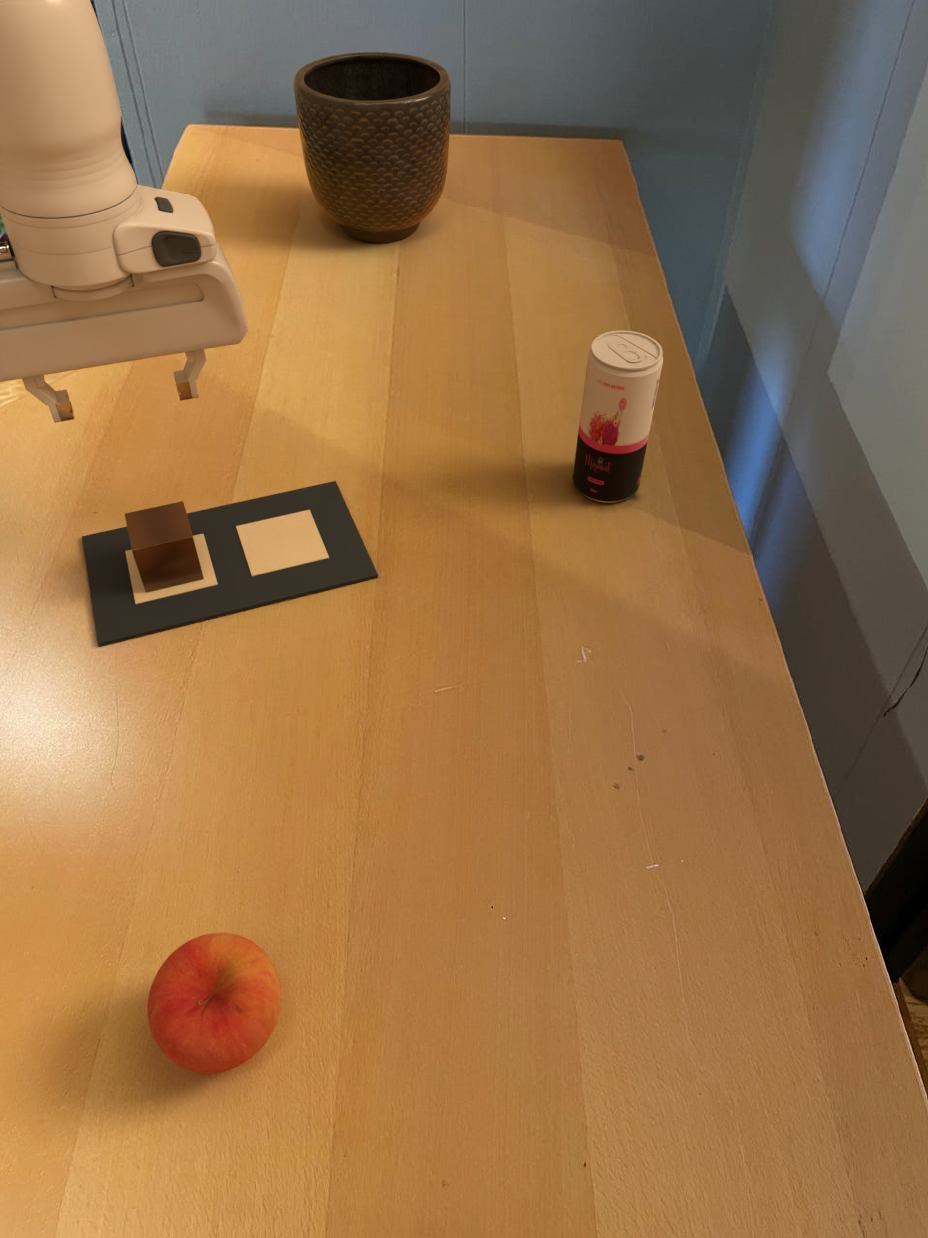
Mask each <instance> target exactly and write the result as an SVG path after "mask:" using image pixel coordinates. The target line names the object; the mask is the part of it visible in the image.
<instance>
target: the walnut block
mask: <svg viewBox="0 0 928 1238" xmlns="http://www.w3.org/2000/svg"><path fill="white" fill-rule="evenodd" d="M187 513H188V512H187V508H186V505H185V501H183V500H181V501H177V502H172V503H167V504H164V505H157V506H153V507H149V508H144V509H139V510H135V511H130V512H125V513H124V520H125V523H126V527H127V529H128V534H129V539H130V544H131V549H132V553H133V556H134V559H135V562H136V565H137V568H138V571H139V574H140V577H141V580H142V583H143V586H144V589H145V592H146V593H147V592H151V591H156V590H160V589H164V588H168V587H172V586H177V585H181V584H185V583H189V582H194V581H198V580H202V579H204V577H203V573H202V569H201V565H200V562H199V558H198V554H197V550H196V546H195V543H194V539H193V535H192V531H191V528H190V524H189V520H188V517H187Z"/></svg>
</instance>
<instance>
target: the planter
mask: <svg viewBox="0 0 928 1238" xmlns="http://www.w3.org/2000/svg"><path fill="white" fill-rule="evenodd" d="M293 94H294V100H295V108H296V116H297V124H298V132H299V137H300V144H301V151H302V156H303V157H302V158H303V162H304V163H303V164H304V168H305V173H306V177H307V180H308V183H309V186H310V189H311V192H312V194H313V197H314V198H315V199H314V200H315V201H316V202H317V204H318V205H319V206H320V208H321V209H322V211H323V212H324V213H325V214H326V215H327V216H328V217H330V218H331V219H332V220H333V221H334V222H336V223H338V225H339V227H340V229H341V230H342V231H343V232H344V233H345V234H346V235H347V236H349V237H350V238H352V239H354V240H358V241H361V242H366V243H375V244H380V243H381V244H385V243H393V242H397V241H401V240H404V239H407V238H409V237H410V236H412V235H413V234H414V233H415V232H416V231H417V230H418V228H419V226H420V225H421V222H422V221H424V220H425V219H426V218H427V217H428V216H429V215H430V214H431V213H432V212H433V211H434V209H435V208H436V206H437V205H438V203H439V201H440V200H441V197H442V194H443V192H444V189H445V184H446V179H447V173H448V167H449V151H450V149H449V148H450V135H451V134H450V133H451V99H452V97H451V96H452V83H451V77H450V74H449V72H448V71H447V70H446V69H445V68H444V67H443V66H441V64H438V63H436V62H435V61H433V60H430V59H427V58H424V57H420V56H418V55H417V56H416V55H411V54H406V53H401V52H400V53H399V52H389V51H360V52H359V51H358V52H349V53H348V52H347V53H340V54H335V55H330V56H326V57H322V58H319V59H316V60H313V61H311V62H308V63H307V64H305V65H304V66H301V68H299V69H298V71H296V73H295V75H294V77H293Z"/></svg>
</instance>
